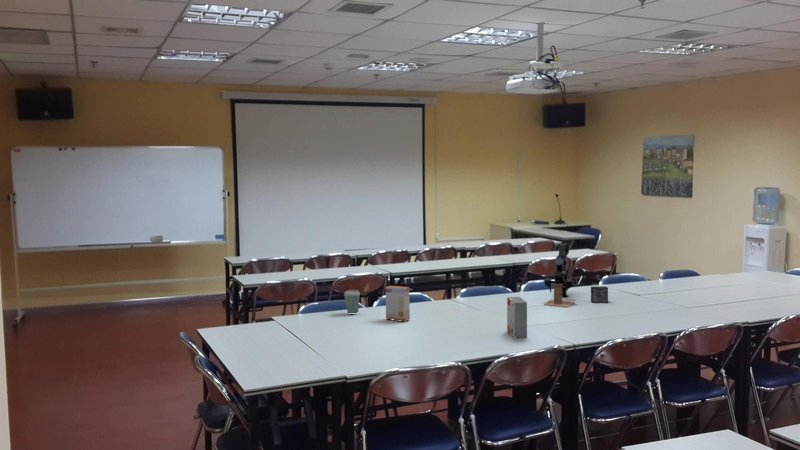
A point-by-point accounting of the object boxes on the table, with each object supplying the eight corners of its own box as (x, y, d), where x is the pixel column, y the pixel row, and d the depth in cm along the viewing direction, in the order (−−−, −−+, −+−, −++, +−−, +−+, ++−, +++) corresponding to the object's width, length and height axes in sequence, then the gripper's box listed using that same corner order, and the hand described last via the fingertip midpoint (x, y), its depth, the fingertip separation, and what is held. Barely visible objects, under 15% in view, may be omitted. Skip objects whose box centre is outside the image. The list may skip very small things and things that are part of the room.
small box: (606, 301, 446) (606, 286, 445) (608, 303, 440) (608, 287, 439) (590, 301, 447) (590, 286, 447) (592, 303, 441) (592, 287, 440)
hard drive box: (506, 331, 369) (506, 296, 368) (519, 330, 370) (519, 296, 368) (513, 338, 354) (513, 302, 352) (527, 337, 355) (527, 301, 353)
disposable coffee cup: (358, 316, 413) (357, 293, 412) (342, 315, 415) (341, 292, 414) (362, 312, 423) (362, 289, 422) (346, 312, 426) (346, 289, 424)
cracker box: (410, 320, 400) (409, 286, 398) (405, 322, 394) (404, 288, 393) (390, 318, 407) (390, 285, 405) (385, 320, 402) (385, 286, 400)
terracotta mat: (551, 300, 450) (551, 299, 450) (574, 303, 441) (574, 301, 441) (544, 305, 436) (544, 303, 436) (567, 307, 428) (567, 306, 428)
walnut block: (554, 302, 439) (554, 283, 438) (562, 302, 438) (562, 283, 436) (553, 304, 435) (553, 284, 433) (561, 304, 433) (561, 285, 432)
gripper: (544, 266, 441) (542, 285, 431) (573, 267, 435) (571, 286, 425) (546, 275, 449) (544, 294, 440) (574, 277, 443) (572, 296, 433)
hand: (557, 292), depth 434 cm, fingers open, 9 cm apart
